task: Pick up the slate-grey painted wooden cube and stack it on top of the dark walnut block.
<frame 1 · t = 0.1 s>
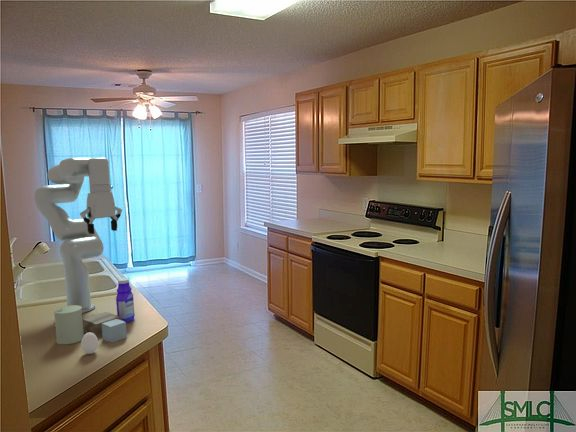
hand: (103, 232, 177), 37 cm above the counter, tool pointing down, fingers open, 9 cm apart
egg: (90, 354, 150), on the counter
walnut block: (102, 330, 172), on the counter
grey cube: (114, 338, 163), on the counter
can: (70, 340, 162), on the counter
bottle: (126, 321, 181), on the counter
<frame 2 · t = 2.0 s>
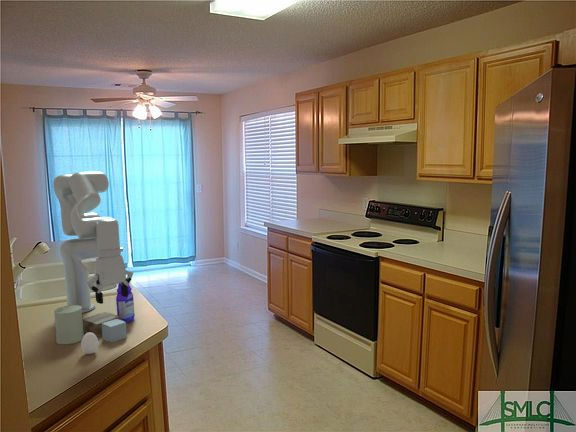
hand: (112, 299, 161), 15 cm above the counter, tool pointing down, fingers open, 9 cm apart
nothing on the counter moved.
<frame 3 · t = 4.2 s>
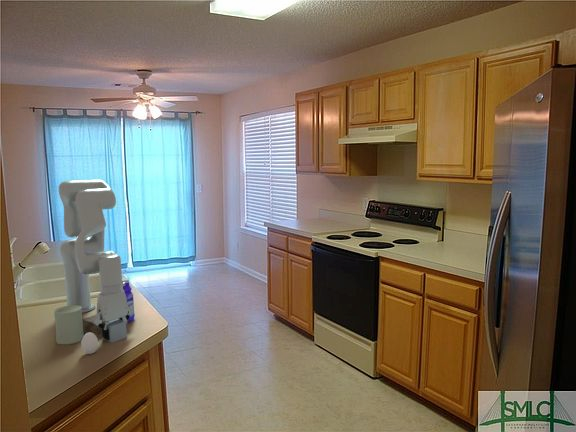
hand: (114, 335, 163), 1 cm above the counter, tool pointing down, fingers closed on grey cube, 6 cm apart
grey cube: (114, 338, 163), on the counter, touching gripper
everything else where it was.
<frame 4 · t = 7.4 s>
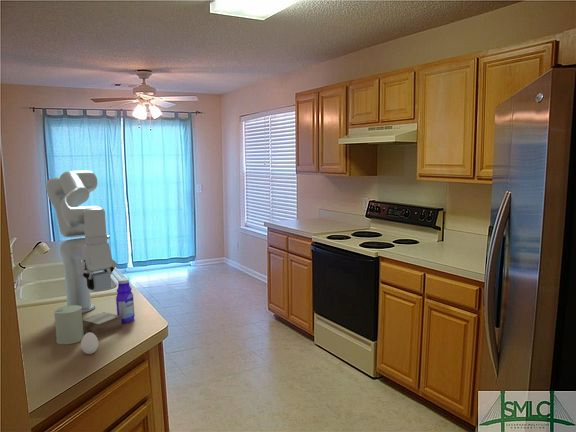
hand: (99, 286, 170), 17 cm above the counter, tool pointing down, fingers closed on grey cube, 6 cm apart
grey cube: (99, 288, 170), point 16 cm above the counter, touching gripper
everything else where it was.
when the fingers open (6 cm above the counter, at t = 10.9 s): grey cube stays where it is, point 5 cm above the counter.
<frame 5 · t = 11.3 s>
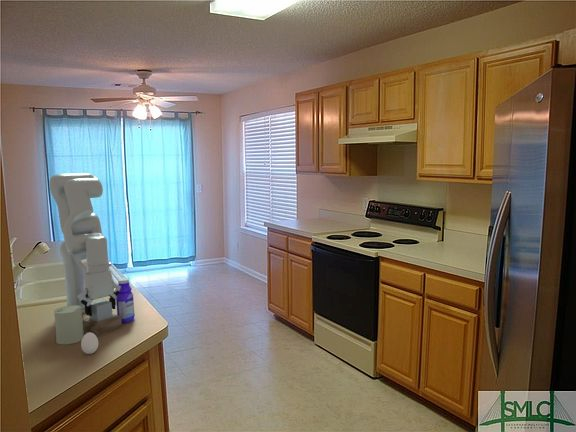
hand: (101, 311, 171), 7 cm above the counter, tool pointing down, fingers open, 9 cm apart
grey cube: (101, 318, 171), point 5 cm above the counter
everything else where it was.
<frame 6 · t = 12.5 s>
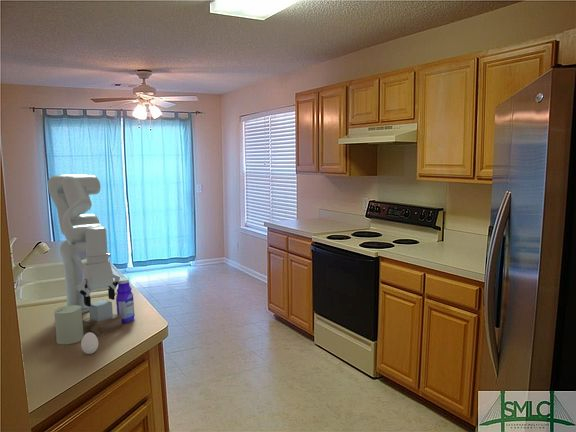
hand: (100, 302, 171), 11 cm above the counter, tool pointing down, fingers open, 9 cm apart
walnut block: (102, 330, 172), on the counter, touching grey cube
grey cube: (101, 318, 171), point 5 cm above the counter, touching walnut block
everything else where it was.
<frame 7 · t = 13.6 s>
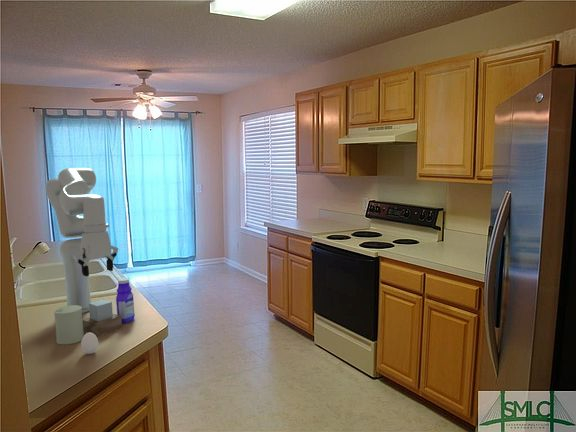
hand: (98, 273, 169), 22 cm above the counter, tool pointing down, fingers open, 9 cm apart
walnut block: (102, 330, 172), on the counter
grey cube: (101, 317, 171), point 5 cm above the counter
everything else where it was.
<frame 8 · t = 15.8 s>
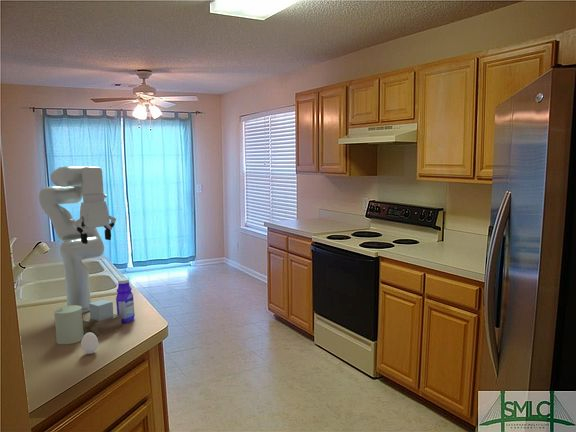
hand: (96, 241, 175), 33 cm above the counter, tool pointing down, fingers open, 9 cm apart
nothing on the counter moved.
at the end: grey cube 0.4 cm from the walnut block (horizontally); grey cube point 4.6 cm above the counter; grey cube tilted 0° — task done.
